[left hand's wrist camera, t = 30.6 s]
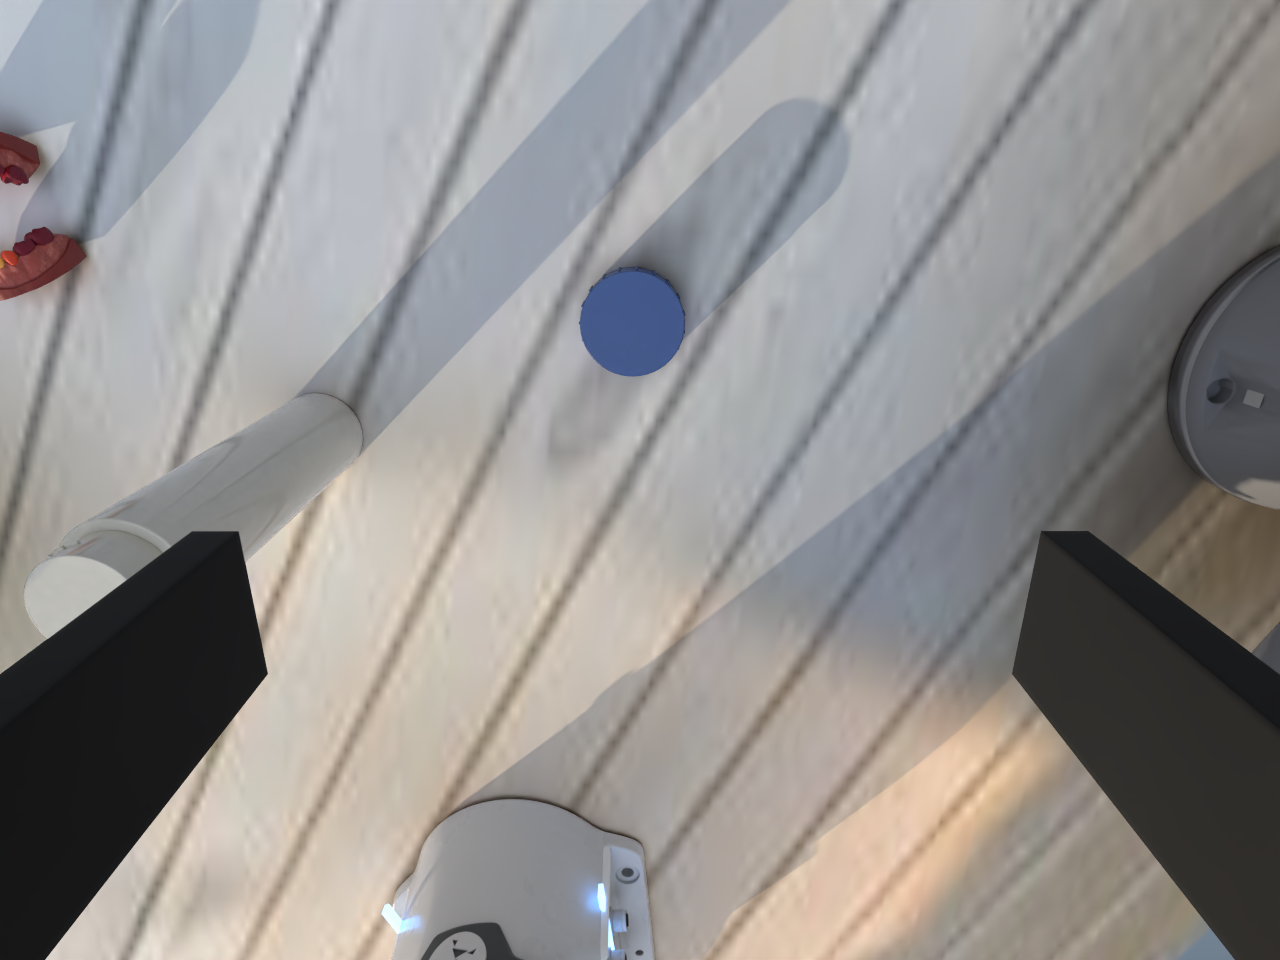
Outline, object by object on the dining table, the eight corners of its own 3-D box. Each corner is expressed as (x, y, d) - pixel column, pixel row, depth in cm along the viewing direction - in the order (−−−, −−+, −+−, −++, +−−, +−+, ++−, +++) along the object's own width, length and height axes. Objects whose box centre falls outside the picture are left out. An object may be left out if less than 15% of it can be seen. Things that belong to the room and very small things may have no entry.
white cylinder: (278, 463, 44) (16, 657, 26) (281, 385, 42) (3, 531, 24) (360, 478, 44) (160, 680, 26) (366, 401, 43) (157, 558, 24)
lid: (676, 257, 40) (678, 260, 38) (690, 360, 42) (693, 368, 40) (573, 274, 40) (569, 279, 38) (592, 375, 42) (589, 385, 40)
